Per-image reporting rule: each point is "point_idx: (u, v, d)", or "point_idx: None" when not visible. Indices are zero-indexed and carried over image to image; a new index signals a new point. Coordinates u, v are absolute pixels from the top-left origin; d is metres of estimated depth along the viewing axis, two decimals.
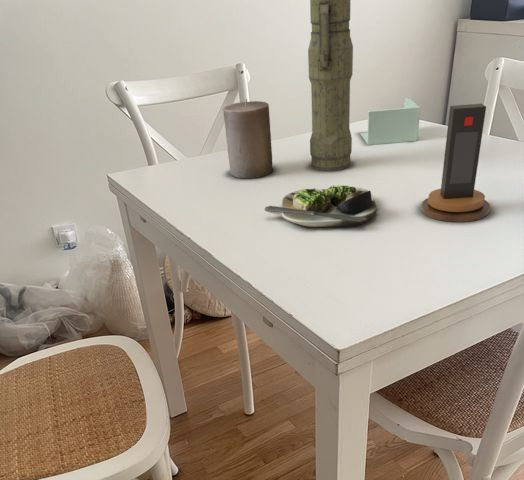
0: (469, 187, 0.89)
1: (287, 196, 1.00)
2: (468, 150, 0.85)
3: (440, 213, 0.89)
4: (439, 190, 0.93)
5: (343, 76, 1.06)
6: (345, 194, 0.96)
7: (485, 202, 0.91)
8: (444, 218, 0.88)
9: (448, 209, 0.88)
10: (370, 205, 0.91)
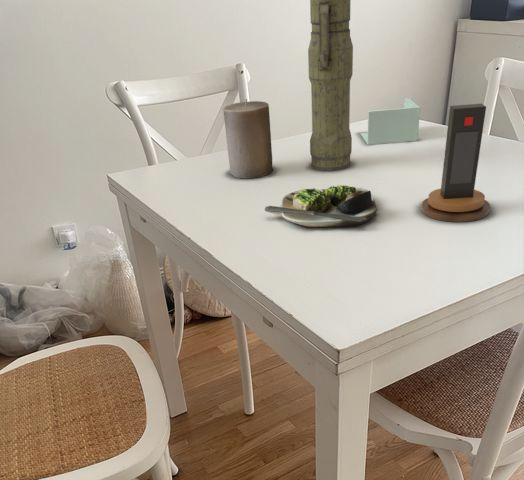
0: (469, 187, 0.89)
1: (287, 196, 1.00)
2: (468, 150, 0.85)
3: (440, 213, 0.89)
4: (439, 190, 0.93)
5: (343, 76, 1.06)
6: (345, 194, 0.96)
7: (485, 202, 0.91)
8: (444, 218, 0.88)
9: (448, 209, 0.88)
10: (370, 205, 0.91)
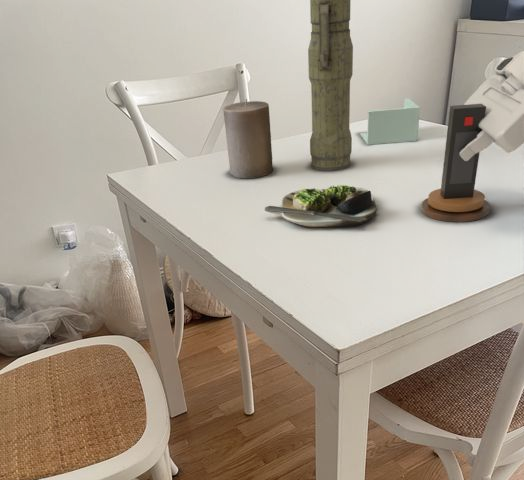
0: (469, 187, 0.89)
1: (287, 196, 1.00)
2: None
3: (440, 213, 0.89)
4: (439, 190, 0.93)
5: (343, 76, 1.06)
6: (345, 194, 0.96)
7: (485, 202, 0.91)
8: (444, 218, 0.88)
9: (448, 209, 0.88)
10: (370, 205, 0.91)
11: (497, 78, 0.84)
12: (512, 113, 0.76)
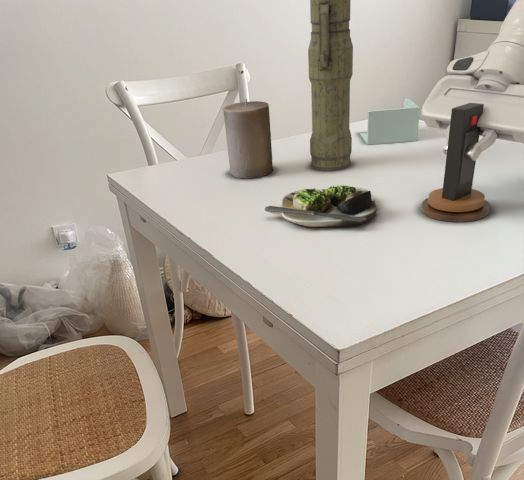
0: (469, 184, 0.90)
1: (287, 196, 1.00)
2: None
3: (440, 213, 0.89)
4: (433, 195, 0.92)
5: (343, 76, 1.06)
6: (345, 194, 0.96)
7: (485, 202, 0.91)
8: (444, 218, 0.88)
9: (468, 209, 0.87)
10: (370, 205, 0.91)
11: (464, 78, 0.86)
12: None
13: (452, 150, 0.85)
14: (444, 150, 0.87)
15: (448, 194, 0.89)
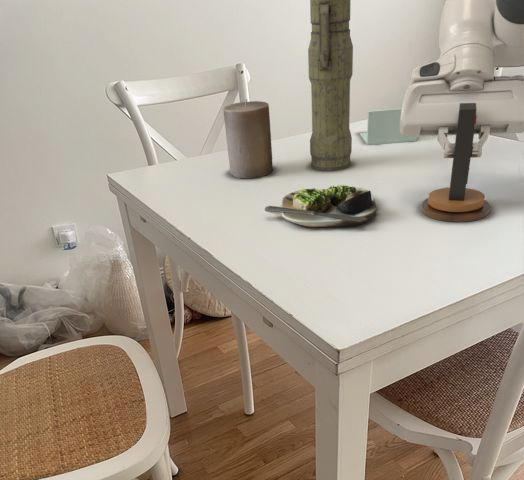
0: None
1: (287, 196, 1.00)
2: None
3: (440, 213, 0.89)
4: (436, 199, 0.90)
5: (343, 76, 1.06)
6: (345, 194, 0.96)
7: (485, 202, 0.91)
8: (444, 218, 0.88)
9: (480, 205, 0.88)
10: (370, 205, 0.91)
11: (438, 82, 0.87)
12: (516, 99, 0.84)
13: (461, 151, 0.84)
14: (447, 153, 0.86)
15: (457, 195, 0.88)
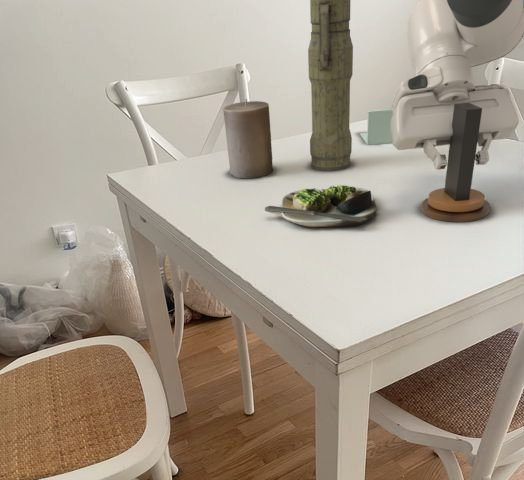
0: None
1: (287, 196, 1.00)
2: None
3: (440, 213, 0.89)
4: (442, 201, 0.89)
5: (343, 76, 1.06)
6: (345, 194, 0.96)
7: (485, 202, 0.91)
8: (444, 218, 0.88)
9: None
10: (370, 205, 0.91)
11: (428, 95, 0.86)
12: (501, 107, 0.87)
13: (467, 151, 0.84)
14: (440, 165, 0.86)
15: (463, 195, 0.88)
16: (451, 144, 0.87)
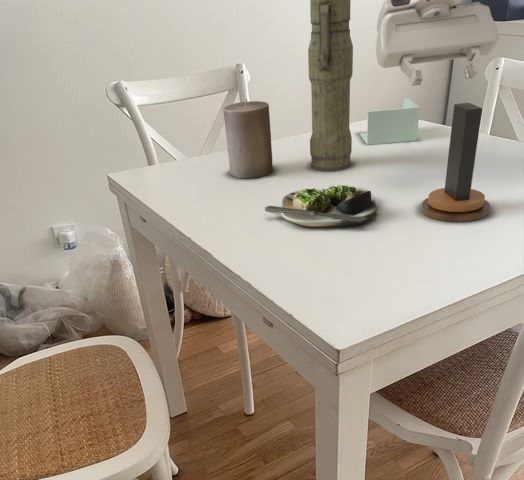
0: None
1: (287, 196, 1.00)
2: None
3: (440, 213, 0.89)
4: (442, 201, 0.89)
5: (343, 76, 1.06)
6: (345, 194, 0.96)
7: (485, 202, 0.91)
8: (444, 218, 0.88)
9: None
10: (370, 205, 0.91)
11: (410, 11, 0.90)
12: (481, 22, 0.91)
13: (467, 151, 0.84)
14: (415, 80, 0.90)
15: (463, 195, 0.88)
16: (451, 144, 0.87)
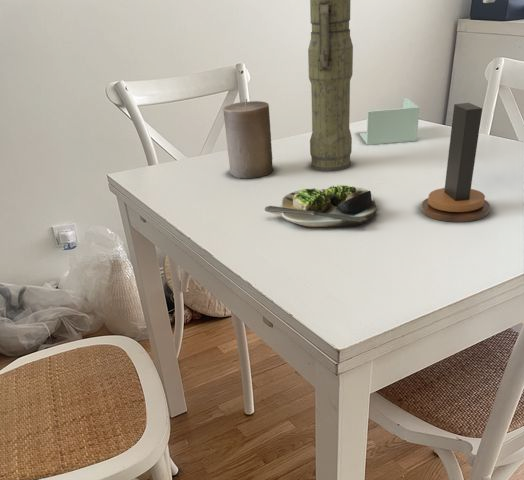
0: None
1: (287, 196, 1.00)
2: None
3: (440, 213, 0.89)
4: (442, 201, 0.89)
5: (343, 76, 1.06)
6: (345, 194, 0.96)
7: (485, 202, 0.91)
8: (444, 218, 0.88)
9: None
10: (370, 205, 0.91)
11: None
12: None
13: (467, 151, 0.84)
14: (487, 2, 0.86)
15: (463, 195, 0.88)
16: (451, 144, 0.87)
